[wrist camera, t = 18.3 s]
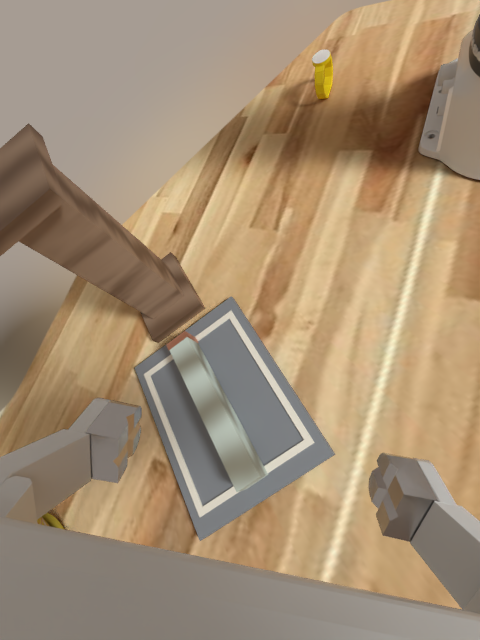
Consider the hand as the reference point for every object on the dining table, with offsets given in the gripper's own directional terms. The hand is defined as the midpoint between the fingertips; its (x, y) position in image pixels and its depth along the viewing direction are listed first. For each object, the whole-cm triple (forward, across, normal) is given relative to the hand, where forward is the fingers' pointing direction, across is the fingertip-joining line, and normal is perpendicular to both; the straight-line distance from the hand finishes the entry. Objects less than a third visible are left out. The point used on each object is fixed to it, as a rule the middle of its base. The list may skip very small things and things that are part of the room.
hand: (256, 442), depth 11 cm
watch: (+58, -5, -24) cm, 63 cm away
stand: (+39, +14, +11) cm, 43 cm away
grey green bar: (+24, +3, +18) cm, 31 cm away
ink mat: (+25, +2, +19) cm, 32 cm away
